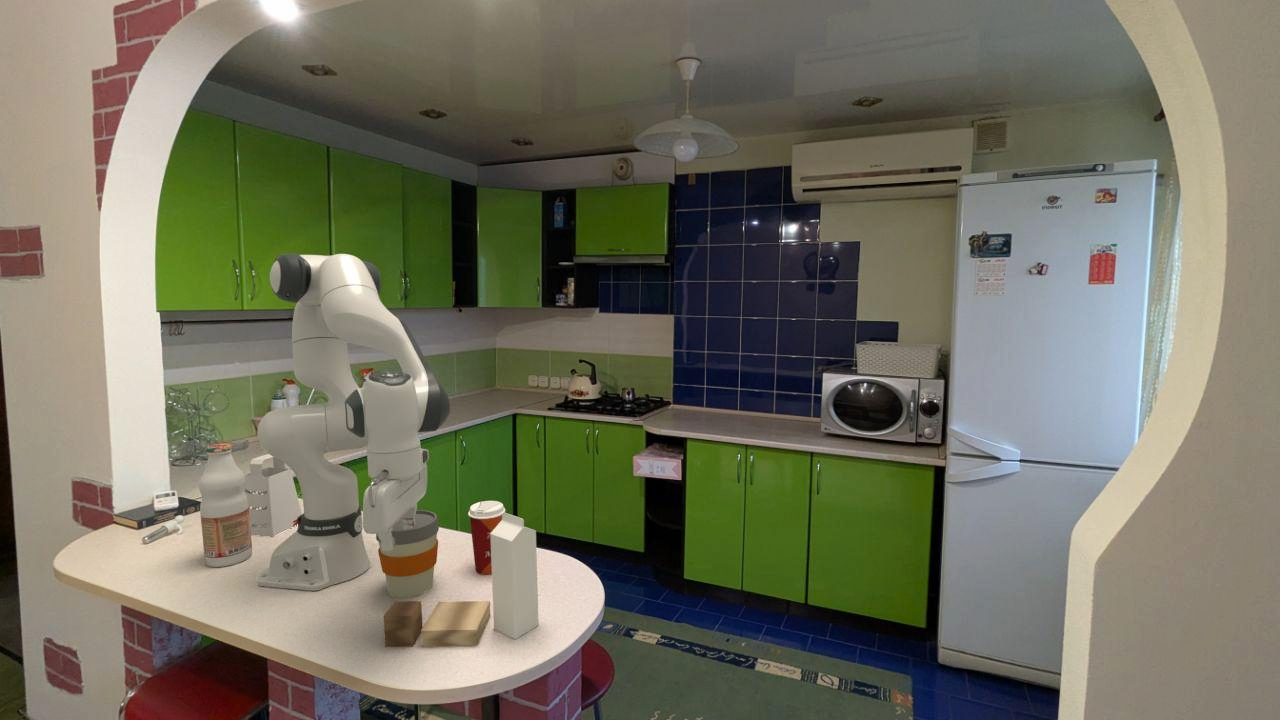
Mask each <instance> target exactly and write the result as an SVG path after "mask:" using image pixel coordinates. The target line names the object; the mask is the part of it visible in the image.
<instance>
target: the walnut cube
mask: <svg viewBox="0 0 1280 720" xmlns="http://www.w3.org/2000/svg"><path fill="white" fill-rule="evenodd" d="M382 617H383V633H384V635H383V636H384V647H385V648H412V647H413V648H414V646H415V645H416V643H417V642H418V640H419V639H420V638H421V629H422V628H423V626H424V624H423V607H422V601H421V600H414V601H413V600H409V601H407V600H404V601H402V600H401V601H400V600H399V601H394V602H393V603H392V604H391V605H390V607H389V608H388V609H387V611H386V612H385V613H384V614H383V616H382Z"/></svg>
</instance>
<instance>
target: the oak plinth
mask: <svg viewBox="0 0 1280 720" xmlns="http://www.w3.org/2000/svg"><path fill="white" fill-rule="evenodd" d="M490 618H491V600H473V601H472V600H471V601H469V600H468V601H467V600H464V601H460V600H459V601H438V602H437V604H436V605H435V607H434V608H433V610H432V612H431V613H430V615H429V617H428V618H427V620H426V622H425V623H424V624H423V628H422V629H421V635H420V640H421V641H420V643H421V647H452V646H453V647H465V646H469V647H471V646H474V647H475V646H478V645H479V643H480V641H481V638H482V636H483V634H484V632H485V629H486V626H487V625H488V622H489V620H490Z"/></svg>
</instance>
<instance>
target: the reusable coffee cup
mask: <svg viewBox="0 0 1280 720" xmlns="http://www.w3.org/2000/svg"><path fill="white" fill-rule="evenodd" d="M403 519H404V516H403V517H402V518H401V519H400V520H399V521H397V522H396V523H395V524H394V525H393V526H392V529H393V530H392V532H391V533H392V537H393V538H395V547H394V548H393V549H392V550H391V551H383V550H382V546H381V541H380V539H379V537H378V535H377V534H375V539H376V541H378V546H379V547H378V549H377V550H378V551H377V552H378V556H379V557H378V558H379V562H380V567H381V572H382V573H383V574H384V577H385V582H386V586H387V591H388V593H389V595H391V596H392V597H395V598H411V597H415V596H419V595H421V594H424V593H426V592H428V591H429V590H430V589H431V588H432V587H433V585H434V573H435V566H436V564H437V562H438V547H439V540H438V538H437V537H438V532H439V530H440V528H439V520H438V516H437V514H436V513H435V512H433V511H430V510H425V509H417V510H416V515H415V526H414V527H413V528H411V529H404V528H403V521H402V520H403Z"/></svg>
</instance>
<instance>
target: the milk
mask: <svg viewBox="0 0 1280 720" xmlns="http://www.w3.org/2000/svg"><path fill="white" fill-rule="evenodd" d="M490 537H491V564H492V574H491V586H492V587H491V590H492V608H493V609H492V610H493V611H492V612H493V616H492V617H493V629H494V630H496V631H497V632H500V633H501V634H503V635H505V636H507V637H509V638H511V639H513V640H517V639H519V638H520V637H522V636H523V635H525V634H526V633H528V632H530V631H532V629H534V628H536V627H537V626H539V595H538V594H539V593H538V564H537V563H538V562H537V561H538V560H537V555H538V554H537V531H536V530H535V529H533V528H530V527H526V526H525V520H524V519H523V518H521V517H519V516H516V515H513V514H510V513H507V512H505V513H504V512H503V513H502V521H501V522H500V523H499V524H498V525H497V526H496V528H495V529H494V530H493V531H492V532H491V533H490Z"/></svg>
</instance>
